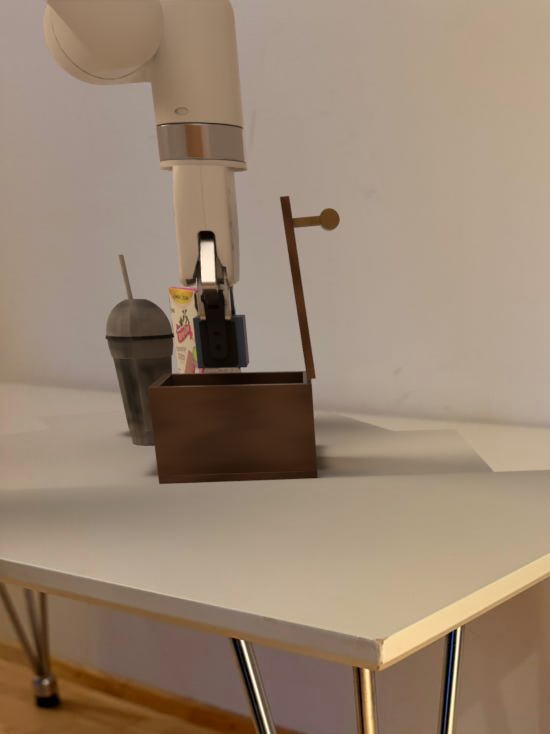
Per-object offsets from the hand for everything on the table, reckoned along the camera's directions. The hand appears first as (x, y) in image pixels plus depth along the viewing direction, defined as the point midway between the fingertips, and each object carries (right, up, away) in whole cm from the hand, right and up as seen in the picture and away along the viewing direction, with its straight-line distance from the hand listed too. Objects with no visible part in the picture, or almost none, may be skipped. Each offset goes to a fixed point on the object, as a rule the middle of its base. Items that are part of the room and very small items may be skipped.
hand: (223, 361), depth 94 cm
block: (0, 0, 0) cm, 0 cm away
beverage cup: (-13, -4, +19) cm, 23 cm away
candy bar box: (-9, 0, +29) cm, 30 cm away
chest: (+1, -10, +4) cm, 10 cm away
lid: (+7, +7, -1) cm, 10 cm away
